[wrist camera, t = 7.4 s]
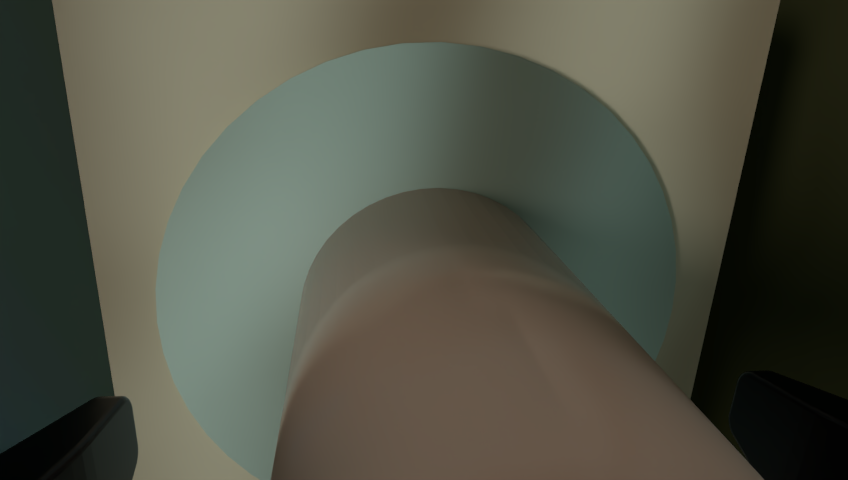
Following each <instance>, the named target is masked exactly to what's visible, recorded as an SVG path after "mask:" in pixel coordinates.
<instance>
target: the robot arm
mask: <svg viewBox="0 0 848 480" xmlns="http://www.w3.org/2000/svg"><path fill="white" fill-rule="evenodd" d="M729 426H730V429H731V432H732V434H733V436H734V438H735V439H736V441H737V443H738V445H739V446H740V448H741V450H742V452H743V453H744V455H745V457H746V459H747V460H748V462H749V464H750V465H751V466H752V467H753V468H754V469H755V470H756V471H757V472H758V473H759V474H760V475H761V477H762V478H763V479H764V480H848V400H847V399H844V398H842V397H839V396H836V395H834V394H831V393H828V392H826V391H823V390H820V389H818V388H815V387H812V386H810V385H807V384H804V383H802V382H799V381H796V380H794V379H791V378H788V377H786V376H783V375H780V374H778V373H775V372H772V371H748V372H745V373H743V374H742V375H741V376H740V377H739V379H738V381H737V385H736V389H735V393H734V397H733V401H732V405H731V409H730V413H729ZM137 460H138V441H137V435H136V428H135V421H134V415H133V408H132V404H131V402H130V400H129V399H128V398H127V397H126V396H109V397H96V398H93V399H92V400H90V401H88V402H87V403H85V404H83V405H81V406H80V407H78V408H76V409H75V410H73V411H71V412H70V413H68V414H66V415H65V416H63V417H61V418H60V419H58V420H56V421H55V422H53V423H51V424H50V425H48V426H46V427H45V428H43V429H41V430H40V431H38V432H36V433H35V434H33V435H31V436H30V437H28V438H26V439H25V440H23V441H21V442H19V443H18V444H16V445H14V446H13V447H11V448H9V449H8V450H6V451H4V452H3V453H1V454H0V480H132V479H133V476H134V472H135V469H136V465H137Z"/></svg>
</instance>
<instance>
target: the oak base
mask: <svg viewBox="0 0 848 480" xmlns="http://www.w3.org/2000/svg"><path fill="white" fill-rule="evenodd" d="M52 3H53V9H54V16H55V22H56V28H57V34H58V41H59V47H60V53H61V60H62V66H63V72H64V79H65V85H66V91H67V97H68V104H69V110H70V116H71V123H72V129H73V135H74V141H75V148H76V154H77V160H78V167H79V173H80V179H81V186H82V192H83V198H84V204H85V211H86V217H87V223H88V230H89V236H90V242H91V248H92V255H93V261H94V267H95V274H96V280H97V286H98V293H99V299H100V305H101V311H102V318H103V324H104V330H105V337H106V343H107V349H108V355H109V362H110V368H111V374H112V381H113V387H114V393H115V396H126V397H127V398H128V399H129V400H130V402H131V404H132V408H133V415H134V421H135V428H136V435H137V441H138V460H137V465H136V469H135V472H134V476H133V479H132V480H271V475H272V469H273V463H274V457H275V452H276V446H277V440H278V434H279V428H280V422H281V416H282V410H283V404H284V398H285V392H286V386H287V380H288V374H289V368H290V362H291V356H292V350H293V344H294V338H295V332H296V326H297V320H298V314H299V308H300V302H301V297H302V292H303V286H304V283H305V280H306V277H307V274H308V271H309V269H310V267H311V265H312V263H313V261H314V259H315V257H316V255H317V253H318V252H319V251H320V249H321V248H322V246H323V245H324V243H325V242H326V240H327V239H328V238H329V237H330V236H331V235H332V234H333V233H334V232H335V231H336V230H337V228H338V227H340V226H341V225H342V224H343V223H344V222H346V221H347V220H348V219H349V218H350V217H352V216H353V215H354V214H356V213H357V212H359V211H361V210H362V209H364V208H365V207H367V206H369V205H371V204H373V203H375V202H377V201H379V200H382V199H384V198H386V197H389V196H393V195H396V194H399V193H402V192H407V191H412V190H418V189H429V188H446V189H458V190H463V191H467V192H472V193H476V194H479V195H482V196H484V197H487V198H490V199H492V200H494V201H496V202H498V203H500V204H502V205H504V206H506V207H507V208H508V209H510V210H511V211H513V212H514V213H516V214H517V215H518V216H520V217H521V218H522V219H523V220H524V221H525V222H526V223H527V224H528V225H529V226H530V227H531V228H532V229H533V230H534V231H535V232H536V233H537V234H538V235H539V237H540V238H541V239H542V240H543V241H544V242H545V243H546V244H547V245H548V246H549V247H550V248H551V250H552V251H553V252H554V253H555V254H556V255H557V256H558V257H559V258H560V259H561V260H562V261H563V263H564V264H565V265H566V266H567V267H568V268H569V269H570V270H571V271H572V272H573V273H574V274H575V275H576V277H577V278H578V279H579V280H580V281H581V282H582V283H583V284H584V285H585V286H586V287H587V288H588V290H589V291H590V292H591V293H592V294H593V295H594V296H595V297H596V298H597V299H598V300H599V301H600V303H601V304H602V305H603V306H604V307H605V308H606V309H607V310H608V311H609V312H610V313H611V314H612V315H613V317H614V318H615V319H616V320H617V321H618V322H619V323H620V324H621V325H622V326H623V327H624V328H625V330H626V331H627V332H628V333H629V334H630V335H631V336H632V337H633V338H634V339H635V340H636V341H637V343H638V344H639V345H640V346H641V347H642V348H643V349H644V350H645V351H646V352H647V353H648V354H649V355H650V357H651V358H652V359H653V360H654V361H655V362H656V363H657V364H658V365H659V366H660V367H661V368H662V370H663V371H664V372H665V373H666V374H667V375H668V376H669V377H670V378H671V379H672V380H673V381H674V383H675V384H676V385H677V386H678V387H679V388H680V389H681V390H682V391H683V392H684V393H685V394H686V395H687V397H688V398H689V399H690V398H691V394H692V389H693V385H694V381H695V376H696V372H697V367H698V363H699V358H700V354H701V349H702V345H703V341H704V336H705V332H706V327H707V323H708V318H709V314H710V310H711V305H712V301H713V296H714V292H715V287H716V283H717V279H718V274H719V270H720V265H721V261H722V256H723V252H724V247H725V243H726V239H727V234H728V230H729V225H730V221H731V216H732V212H733V208H734V203H735V199H736V194H737V190H738V185H739V181H740V177H741V172H742V168H743V163H744V159H745V154H746V150H747V145H748V141H749V137H750V132H751V128H752V123H753V119H754V114H755V110H756V106H757V101H758V97H759V92H760V88H761V83H762V79H763V74H764V70H765V66H766V61H767V57H768V52H769V48H770V43H771V39H772V35H773V30H774V26H775V21H776V17H777V12H778V8H779V4H780V0H52Z"/></svg>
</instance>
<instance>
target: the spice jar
mask: <svg viewBox="0 0 848 480" xmlns="http://www.w3.org/2000/svg"><path fill="white" fill-rule="evenodd" d="M271 480H764V479H763V478H762V477H761V475H760V474H759V473H758V472H757V471H756V470H755V469H754V468H753V467H752V466H751V465H750V464H749V463H748V461H747V460H746V459H745V458H744V457H743V456H742V455H741V454H740V453H739V452H738V451H737V450H736V448H735V447H734V446H733V445H732V444H731V443H730V442H729V441H728V440H727V439H726V438H725V437H724V435H723V434H722V433H721V432H720V431H719V430H718V429H717V428H716V427H715V426H714V425H713V424H712V423H711V421H710V420H709V419H708V418H707V417H706V416H705V415H704V414H703V413H702V412H701V411H700V410H699V408H698V407H697V406H696V405H695V404H694V403H693V402H692V401H691V400H690V399H689V398H688V397H687V395H686V394H685V393H684V392H683V391H682V390H681V389H680V388H679V387H678V386H677V385H676V384H675V383H674V381H673V380H672V379H671V378H670V377H669V376H668V375H667V374H666V373H665V372H664V371H663V370H662V368H661V367H660V366H659V365H658V364H657V363H656V362H655V361H654V360H653V359H652V358H651V357H650V355H649V354H648V353H647V352H646V351H645V350H644V349H643V348H642V347H641V346H640V345H639V344H638V343H637V341H636V340H635V339H634V338H633V337H632V336H631V335H630V334H629V333H628V332H627V331H626V330H625V328H624V327H623V326H622V325H621V324H620V323H619V322H618V321H617V320H616V319H615V318H614V317H613V315H612V314H611V313H610V312H609V311H608V310H607V309H606V308H605V307H604V306H603V305H602V304H601V303H600V301H599V300H598V299H597V298H596V297H595V296H594V295H593V294H592V293H591V292H590V291H589V290H588V288H587V287H586V286H585V285H584V284H583V283H582V282H581V281H580V280H579V279H578V278H577V277H576V275H575V274H574V273H573V272H572V271H571V270H570V269H569V268H568V267H567V266H566V265H565V264H564V263H563V261H562V260H561V259H560V258H559V257H558V256H557V255H556V254H555V253H554V252H553V251H552V250H551V248H550V247H549V246H548V245H547V244H546V243H545V242H544V241H543V240H542V239H541V238H540V237H539V235H538V234H537V233H536V232H535V231H534V230H533V229H532V228H531V227H530V226H529V225H528V224H527V223H526V222H525V221H524V220H523V219H522V218H521V217H520V216H518V215H517V214H516V213H514V212H513V211H511V210H510V209H508V208H507V207H506V206H504V205H502V204H500V203H498V202H496V201H494V200H492V199H490V198H487V197H484V196H482V195H479V194H476V193H472V192H467V191H463V190H458V189H446V188H429V189H418V190H412V191H407V192H402V193H399V194H396V195H393V196H389V197H386V198H384V199H382V200H379V201H377V202H375V203H373V204H371V205H369V206H367V207H365V208H364V209H362V210H361V211H359V212H357V213H356V214H354V215H353V216H352V217H350V218H349V219H348V220H347V221H346V222H344V223H343V224H342V225H341V226H340V227H338V228H337V230H336V231H335V232H334V233H333V234H332V235H331V236H330V237H329V238H328V239H327V240H326V242H325V243H324V245H323V246H322V248H321V249H320V251H319V252H318V253H317V255H316V257H315V259H314V261H313V263H312V265H311V267H310V269H309V271H308V274H307V277H306V280H305V283H304V286H303V292H302V297H301V302H300V308H299V314H298V320H297V326H296V332H295V338H294V344H293V350H292V356H291V362H290V368H289V374H288V380H287V386H286V392H285V398H284V404H283V410H282V416H281V422H280V428H279V434H278V440H277V446H276V452H275V457H274V463H273V469H272V475H271Z"/></svg>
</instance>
